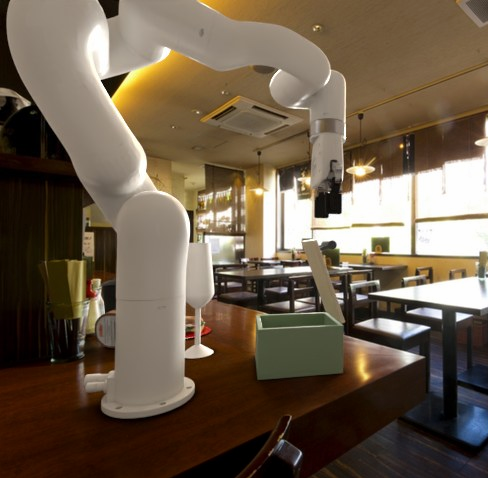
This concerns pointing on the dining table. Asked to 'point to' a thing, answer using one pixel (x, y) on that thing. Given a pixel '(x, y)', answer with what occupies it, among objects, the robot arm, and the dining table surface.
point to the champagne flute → (199, 290)
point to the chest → (298, 345)
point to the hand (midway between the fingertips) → (327, 216)
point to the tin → (106, 329)
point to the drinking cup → (109, 295)
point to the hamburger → (191, 327)
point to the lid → (323, 276)
